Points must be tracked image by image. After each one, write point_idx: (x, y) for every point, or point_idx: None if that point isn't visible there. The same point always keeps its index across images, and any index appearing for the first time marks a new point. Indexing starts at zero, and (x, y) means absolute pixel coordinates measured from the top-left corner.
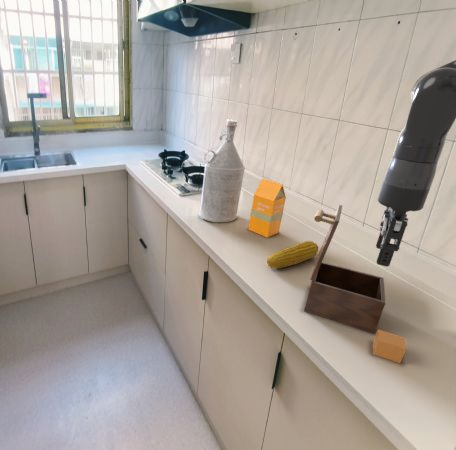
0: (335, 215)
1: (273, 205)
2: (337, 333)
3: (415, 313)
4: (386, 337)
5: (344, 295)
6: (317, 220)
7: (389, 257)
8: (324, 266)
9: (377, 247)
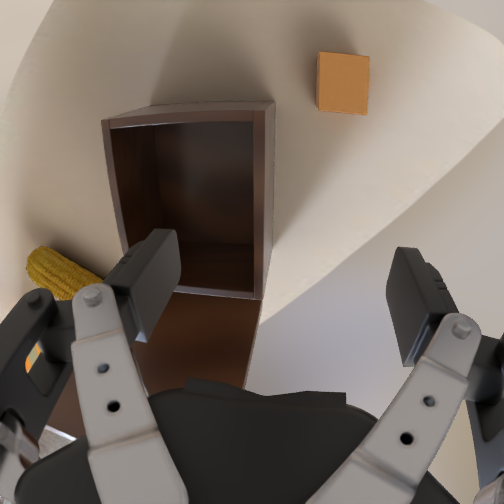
0: None
1: None
2: (320, 179)
3: (124, 23)
4: (345, 94)
5: (265, 214)
6: None
7: (450, 298)
8: None
9: (179, 270)
